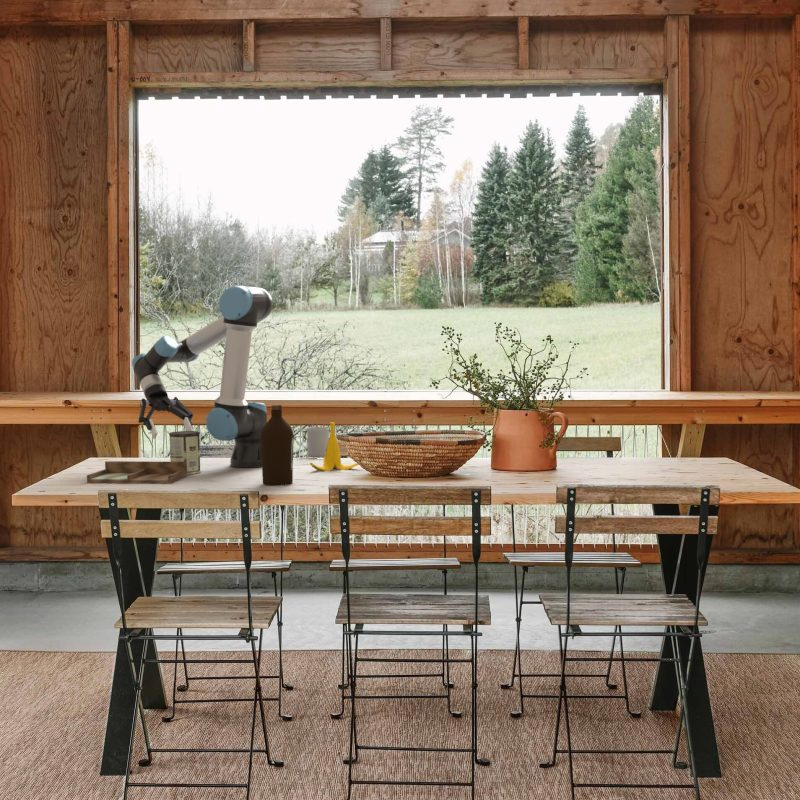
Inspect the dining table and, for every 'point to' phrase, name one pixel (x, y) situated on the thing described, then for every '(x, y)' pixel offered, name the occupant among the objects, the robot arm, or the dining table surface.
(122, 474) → the tray
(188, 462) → the coffee can
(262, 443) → the olive oil
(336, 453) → the banana peel
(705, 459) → the dining table surface
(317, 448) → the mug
